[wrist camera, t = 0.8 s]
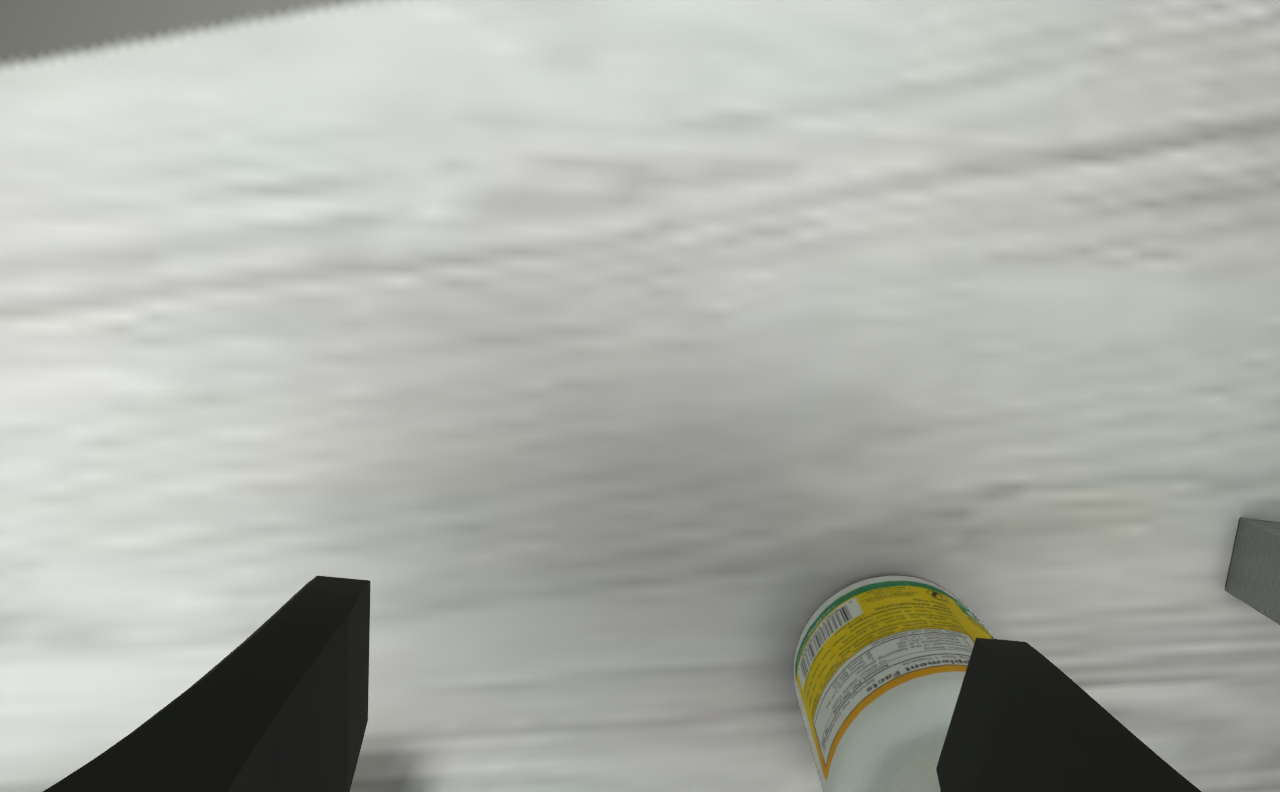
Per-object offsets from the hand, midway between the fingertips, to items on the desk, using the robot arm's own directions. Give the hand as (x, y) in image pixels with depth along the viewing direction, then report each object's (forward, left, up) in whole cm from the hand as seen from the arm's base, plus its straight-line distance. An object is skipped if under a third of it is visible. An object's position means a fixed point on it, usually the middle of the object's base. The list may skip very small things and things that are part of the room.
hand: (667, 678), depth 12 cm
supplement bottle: (-6, -7, -16) cm, 18 cm away
